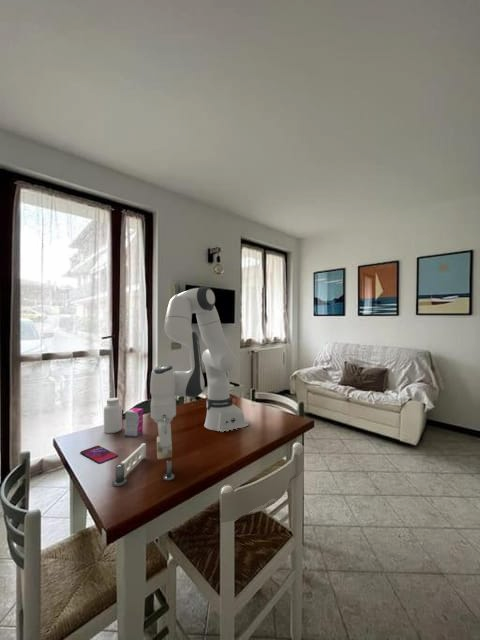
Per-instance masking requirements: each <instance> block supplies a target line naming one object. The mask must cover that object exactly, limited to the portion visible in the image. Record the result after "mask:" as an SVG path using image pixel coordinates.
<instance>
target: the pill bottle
mask: <svg viewBox="0 0 480 640" xmlns="http://www.w3.org/2000/svg"><path fill="white" fill-rule="evenodd" d="M122 429H123V405H122V404H121V403H120V398H119V397H111V398H107V400H106V405H105V406H104V407H103V431H104V433H106V434H115V433H118V432H120V431H121V430H122Z"/></svg>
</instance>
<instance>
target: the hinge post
mask: <svg viewBox="0 0 480 640" xmlns="http://www.w3.org/2000/svg"><path fill="white" fill-rule="evenodd" d="M127 482H128V479H127V478H126V477H125V478H124V464H121V463H118V464H117V465H115V479H113V480H112V482H111V485H112V486H113V487H122V486H124V485H126V484H127Z"/></svg>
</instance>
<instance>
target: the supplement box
mask: <svg viewBox="0 0 480 640" xmlns="http://www.w3.org/2000/svg"><path fill="white" fill-rule="evenodd" d="M143 423H144V408H137V407H132V408H130V409H128V410H126V411H125V422H124V426H125V427H124V437H127V438H129V437H130V438H137V437H138V436H140V435H141V434H143V431H144V430H143V429H144V427H143Z"/></svg>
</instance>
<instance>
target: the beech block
mask: <svg viewBox="0 0 480 640" xmlns="http://www.w3.org/2000/svg"><path fill="white" fill-rule="evenodd" d="M156 457H157V460H161V459H168V458H172V457H173V439H172V438H171V446H170V447H168V453H167V454H163V453H162V448H161V447H160V441H159V435H158V436H156Z"/></svg>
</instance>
